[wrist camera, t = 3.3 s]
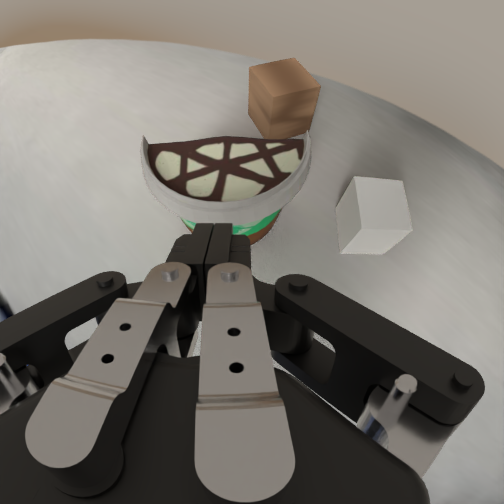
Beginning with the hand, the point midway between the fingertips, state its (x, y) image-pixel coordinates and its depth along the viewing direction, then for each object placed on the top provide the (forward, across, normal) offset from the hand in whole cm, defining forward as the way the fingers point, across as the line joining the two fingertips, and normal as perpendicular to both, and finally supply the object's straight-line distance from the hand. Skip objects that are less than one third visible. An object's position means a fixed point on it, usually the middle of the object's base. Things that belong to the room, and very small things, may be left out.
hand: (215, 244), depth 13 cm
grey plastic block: (+14, -12, +5) cm, 19 cm away
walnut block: (+23, -5, -4) cm, 24 cm away
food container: (+14, 0, +5) cm, 15 cm away
